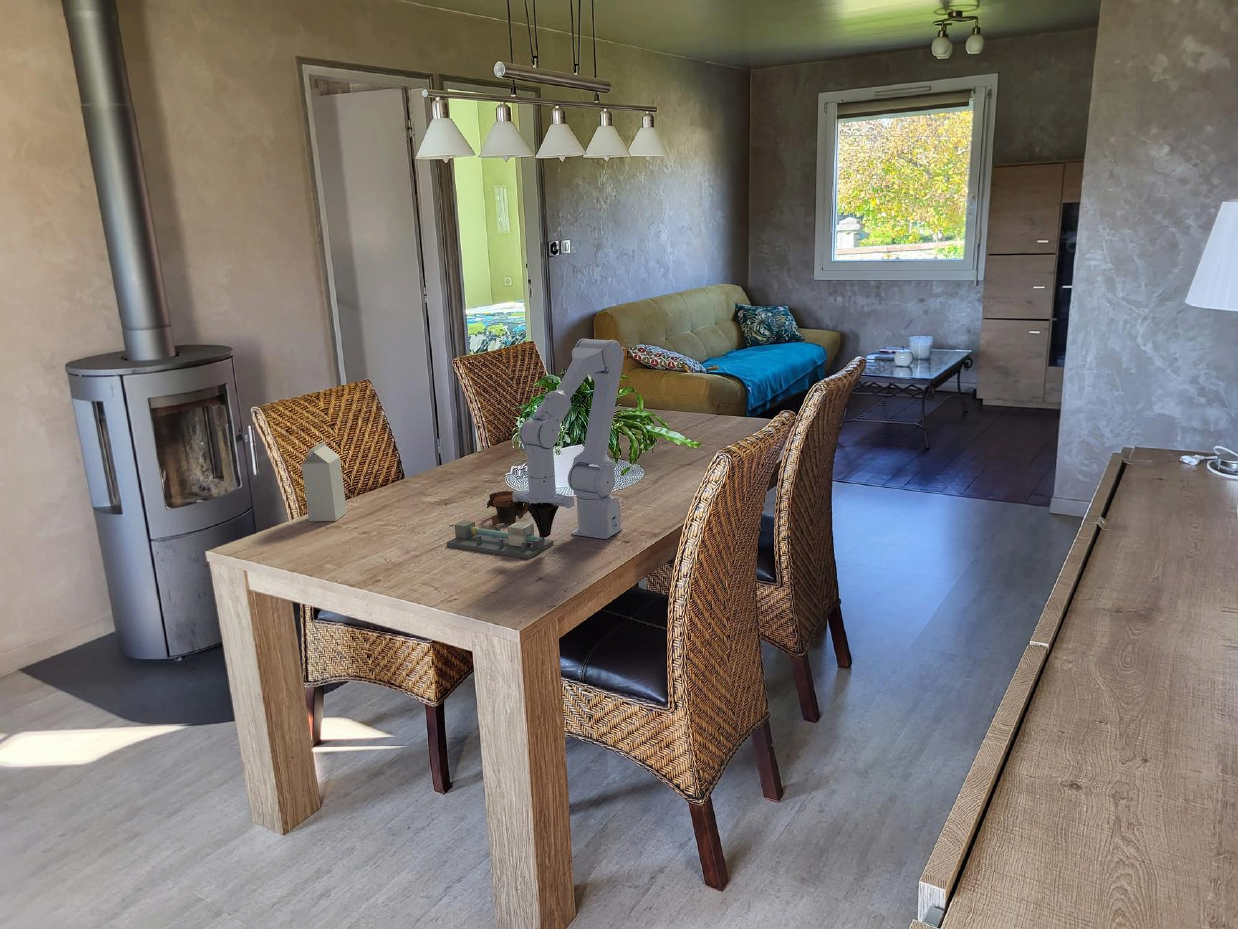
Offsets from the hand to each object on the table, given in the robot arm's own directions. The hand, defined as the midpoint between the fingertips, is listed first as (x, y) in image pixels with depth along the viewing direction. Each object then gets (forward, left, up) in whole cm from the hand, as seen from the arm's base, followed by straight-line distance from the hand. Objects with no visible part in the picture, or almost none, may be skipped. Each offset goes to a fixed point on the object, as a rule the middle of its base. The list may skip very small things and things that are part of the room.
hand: (545, 535), depth 198 cm
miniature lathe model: (+12, 0, -4) cm, 13 cm away
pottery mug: (+22, -17, -4) cm, 28 cm away
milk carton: (+66, -1, -4) cm, 67 cm away
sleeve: (+6, 0, -2) cm, 7 cm away
